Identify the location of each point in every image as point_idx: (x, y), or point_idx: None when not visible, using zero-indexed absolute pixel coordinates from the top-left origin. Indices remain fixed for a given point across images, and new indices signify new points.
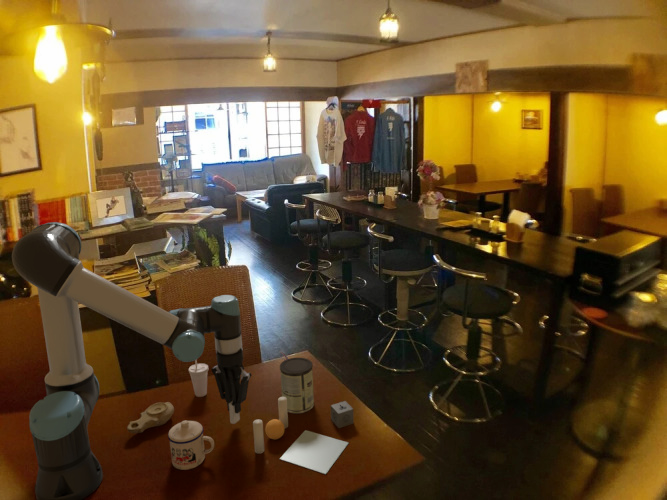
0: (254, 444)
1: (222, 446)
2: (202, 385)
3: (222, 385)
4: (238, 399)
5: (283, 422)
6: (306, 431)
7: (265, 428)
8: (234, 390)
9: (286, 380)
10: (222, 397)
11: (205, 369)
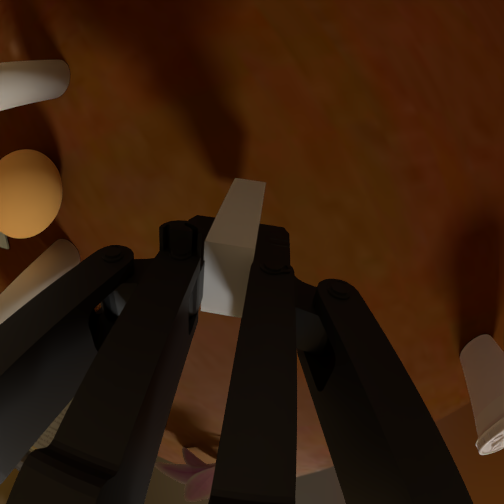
0: (41, 63)
1: (227, 23)
2: (484, 376)
3: (355, 422)
4: (107, 272)
5: (42, 254)
6: (2, 243)
7: (36, 173)
8: (102, 360)
9: (50, 435)
10: (333, 287)
11: (490, 441)
